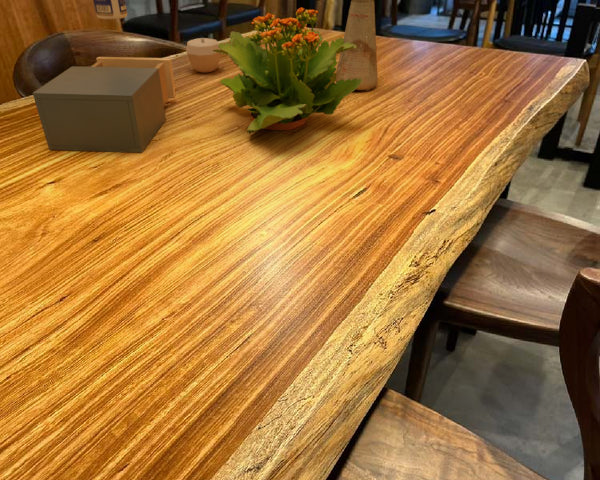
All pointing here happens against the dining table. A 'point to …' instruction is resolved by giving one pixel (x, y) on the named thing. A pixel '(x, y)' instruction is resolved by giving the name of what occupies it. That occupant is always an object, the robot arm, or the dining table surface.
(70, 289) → the dining table surface
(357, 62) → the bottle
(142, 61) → the drawer
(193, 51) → the lidded pot
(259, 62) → the potted flower
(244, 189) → the dining table surface
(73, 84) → the dark grey box
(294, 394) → the dining table surface
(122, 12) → the pill bottle
